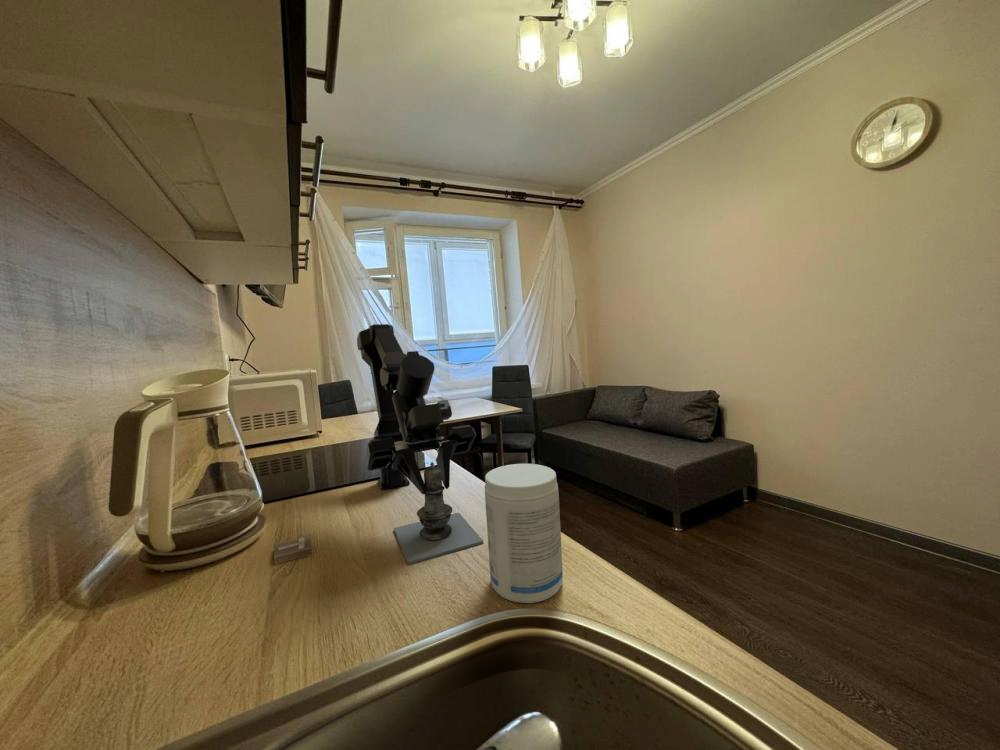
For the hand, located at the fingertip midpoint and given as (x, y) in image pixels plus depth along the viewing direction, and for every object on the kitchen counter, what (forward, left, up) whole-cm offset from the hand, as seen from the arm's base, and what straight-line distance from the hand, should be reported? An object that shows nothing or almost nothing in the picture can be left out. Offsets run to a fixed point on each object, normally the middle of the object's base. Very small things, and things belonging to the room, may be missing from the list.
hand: (436, 490), depth 61 cm
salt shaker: (-1, 0, -8) cm, 8 cm away
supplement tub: (+17, +7, -9) cm, 20 cm away
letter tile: (-8, -22, -9) cm, 25 cm away
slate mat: (-1, 0, -8) cm, 8 cm away
